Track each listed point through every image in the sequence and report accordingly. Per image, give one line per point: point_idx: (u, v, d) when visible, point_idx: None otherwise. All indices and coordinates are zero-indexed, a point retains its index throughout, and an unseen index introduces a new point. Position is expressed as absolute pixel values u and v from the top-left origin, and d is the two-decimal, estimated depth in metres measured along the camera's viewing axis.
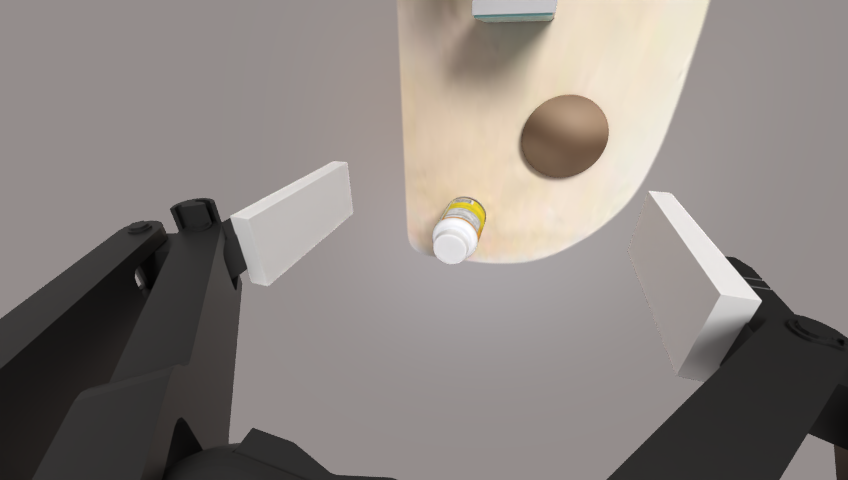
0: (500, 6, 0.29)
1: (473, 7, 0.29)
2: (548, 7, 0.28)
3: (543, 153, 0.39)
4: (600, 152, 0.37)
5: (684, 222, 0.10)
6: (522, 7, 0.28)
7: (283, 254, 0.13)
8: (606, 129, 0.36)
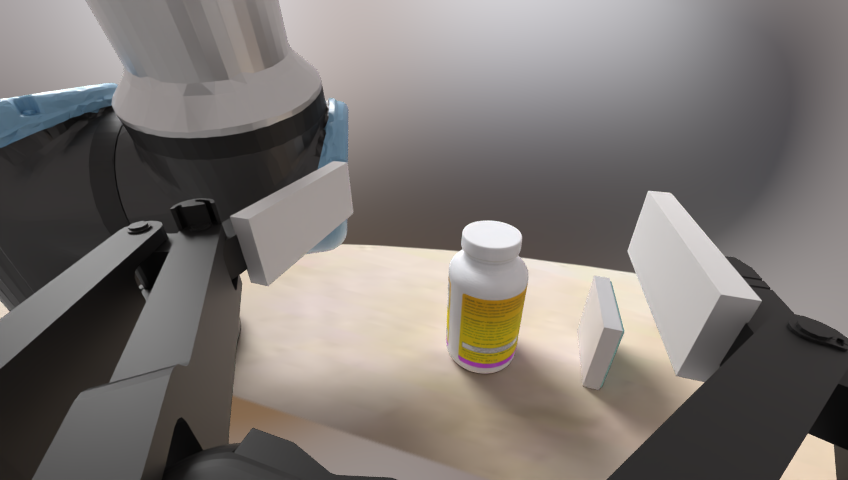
0: (610, 308, 0.28)
1: (614, 328, 0.26)
2: (606, 281, 0.31)
3: None
4: None
5: (684, 222, 0.10)
6: (608, 295, 0.29)
7: (283, 254, 0.13)
8: None
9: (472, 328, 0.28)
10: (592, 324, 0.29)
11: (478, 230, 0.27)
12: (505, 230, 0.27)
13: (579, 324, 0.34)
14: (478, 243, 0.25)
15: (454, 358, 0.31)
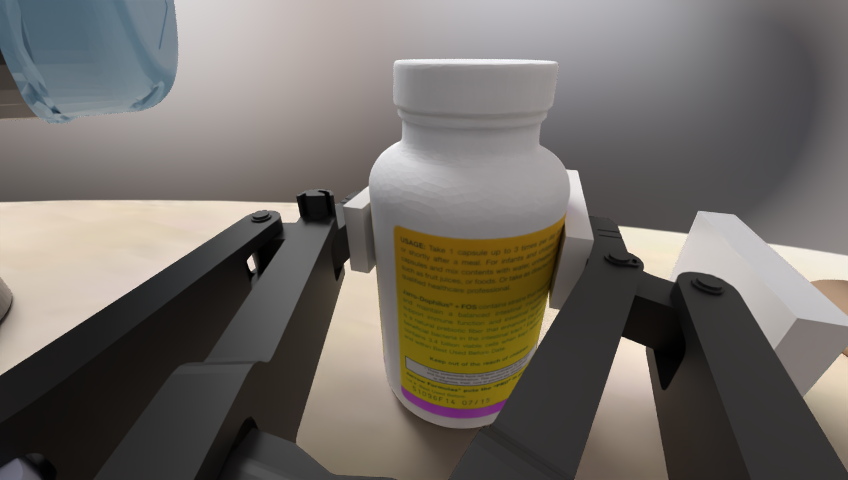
0: (779, 271, 0.11)
1: (830, 320, 0.09)
2: (731, 219, 0.14)
3: None
4: None
5: (572, 191, 0.13)
6: (754, 244, 0.12)
7: None
8: (833, 281, 0.21)
9: (425, 323, 0.11)
10: None
11: (438, 60, 0.10)
12: (510, 60, 0.10)
13: None
14: (430, 62, 0.08)
15: (395, 392, 0.14)
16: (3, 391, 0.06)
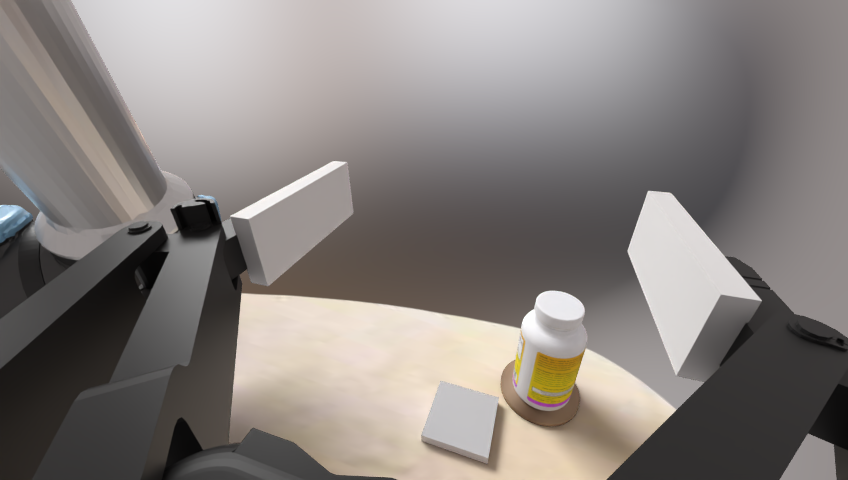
0: None
1: (487, 460, 0.34)
2: None
3: None
4: None
5: (684, 222, 0.10)
6: None
7: (283, 254, 0.13)
8: None
9: (543, 377, 0.35)
10: (471, 424, 0.36)
11: (548, 301, 0.35)
12: (569, 301, 0.35)
13: (448, 384, 0.40)
14: (552, 315, 0.33)
15: (522, 398, 0.38)
16: None
